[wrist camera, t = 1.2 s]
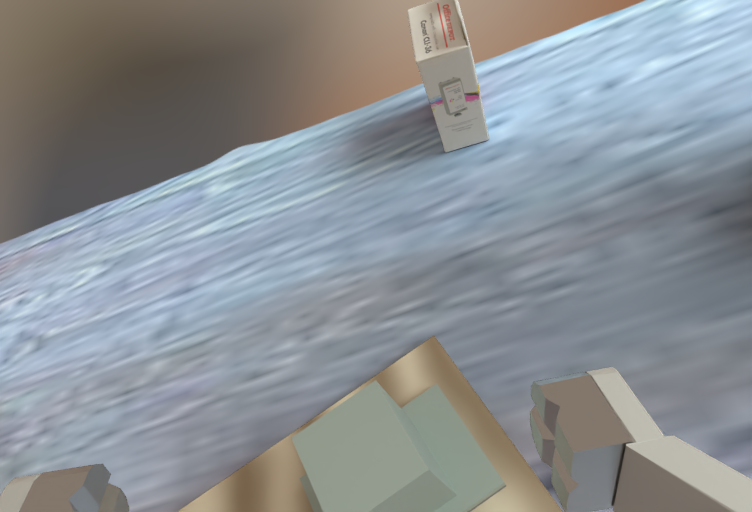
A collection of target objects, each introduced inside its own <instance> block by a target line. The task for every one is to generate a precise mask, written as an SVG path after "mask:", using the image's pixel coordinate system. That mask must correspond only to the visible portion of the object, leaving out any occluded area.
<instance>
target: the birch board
mask: <svg viewBox="0 0 752 512" xmlns="http://www.w3.org/2000/svg"><path fill="white" fill-rule="evenodd" d="M375 380H376V381H377V382H378V383H379V384H380V386H381V387H382V388H383V389H384V390H385V391H386V392H387V393H388V394H389V396H390V397H391V398H392V399H393V400H394V401H395V402H396V403H397V405H398V406H399V407H400V408H402V407H404V406H405V405H407V404H408V403H409V402H411V401H412V400H414V399H415V398H417V397H418V396H420V395H421V394H423V393H424V392H425V391H427V390H428V389H430V388H431V387H433V386H434V385H436V384H437V385H438V386H439V388H440V389H441V390H442V392H443V393H444V395H445V396H446V398H447V399H448V401H449V402H450V404H451V405H452V407H453V408H454V410H455V411H456V412H457V414H458V415H459V417H460V418H461V420H462V421H463V423H464V424H465V426H466V427H467V429H468V430H469V432H470V433H471V434H472V436H473V437H474V439H475V440H476V442H477V443H478V445H479V446H480V448H481V449H482V451H483V452H484V454H485V455H486V456H487V458H488V459H489V461H490V462H491V464H492V465H493V467H494V468H495V470H496V471H497V473H498V474H499V476H500V477H501V478H502V480H503V481H504V483H505V485H506V487H505V488H503V489H502V490H500V491H499V492H498V493H496V494H495V495H493V496H492V497H490V498H489V499H488V500H486V501H485V502H483V503H482V504H481V505H479V506H478V507H476V508H475V509H474V510H472V511H471V512H562V510H561V509H560V507H559V506H558V505H557V503H556V502H555V501H554V499H553V498H552V496H551V495H550V494H549V492H548V491H547V490H546V488H545V487H544V486H543V484H542V483H541V481H540V480H539V479H538V477H537V476H536V475H535V473H534V472H533V470H532V469H531V468H530V466H529V465H528V464H527V462H526V461H525V459H524V458H523V457H522V455H521V454H520V453H519V451H518V450H517V449H516V447H515V446H514V444H513V443H512V442H511V440H510V439H509V438H508V436H507V435H506V433H505V432H504V431H503V429H502V428H501V427H500V425H499V424H498V422H497V421H496V420H495V418H494V417H493V416H492V414H491V413H490V412H489V410H488V409H487V407H486V406H485V405H484V403H483V402H482V401H481V399H480V398H479V396H478V395H477V394H476V392H475V391H474V390H473V388H472V387H471V386H470V384H469V383H468V381H467V380H466V379H465V377H464V376H463V375H462V373H461V372H460V370H459V369H458V368H457V366H456V365H455V364H454V362H453V361H452V359H451V358H450V357H449V355H448V354H447V353H446V351H445V350H444V349H443V347H442V346H441V344H440V343H439V342H438V340H437V339H436V338H435V336H432V337H431V338H430V339H428V340H427V341H425V342H424V343H422V344H421V345H419V346H418V347H416V348H415V349H414V350H412V351H411V352H409V353H408V354H406V355H405V356H403V357H402V358H400V359H399V360H398V361H396V362H395V363H393V364H392V365H390V366H389V367H387V368H386V369H384V370H383V371H382V372H380V373H379V374H377V375H376V376H374V377H373V378H371V379H370V380H368V381H367V382H365V383H364V384H363V385H361V386H360V387H358V388H357V389H355V390H354V391H352V392H351V393H349V394H348V395H347V396H345V397H344V398H342V399H341V400H339V401H338V402H336V403H335V404H333V405H332V406H331V407H329V408H328V409H326V410H325V411H323V412H322V413H320V414H319V415H317V416H316V417H315V418H313V419H312V420H310V421H309V422H307V423H306V424H304V425H303V426H301V427H300V428H299V429H297V430H296V431H294V432H293V433H291V434H290V435H288V436H287V437H285V438H284V439H282V440H281V441H280V442H278V443H277V444H275V445H274V446H272V447H271V448H269V449H268V450H266V451H265V452H264V453H262V454H261V455H259V456H258V457H256V458H255V459H253V460H252V461H250V462H249V463H248V464H246V465H245V466H243V467H242V468H240V469H239V470H237V471H236V472H234V473H233V474H232V475H230V476H229V477H227V478H226V479H224V480H223V481H221V482H220V483H218V484H217V485H216V486H214V487H213V488H211V489H210V490H208V491H207V492H205V493H204V494H202V495H201V496H199V497H198V498H197V499H195V500H194V501H192V502H191V503H189V504H188V505H186V506H185V507H183V508H182V509H181V510H179V511H178V512H314V511H313V509H312V507H311V504H310V502H309V500H308V497H307V495H306V492H305V490H304V488H303V485H302V483H301V480H300V478H301V477H302V476H304V475H305V474H307V473H306V471H305V468H304V466H303V464H302V461H301V459H300V457H299V455H298V452H297V450H296V448H295V445H294V443H293V441H292V437H293V436H295V435H296V434H298V433H299V432H301V431H302V430H304V429H305V428H306V427H308V426H309V425H311V424H312V423H314V422H315V421H317V420H318V419H320V418H321V417H322V416H324V415H325V414H327V413H328V412H330V411H331V410H333V409H334V408H336V407H337V406H339V405H340V404H341V403H343V402H344V401H346V400H347V399H349V398H350V397H352V396H353V395H355V394H356V393H358V392H359V391H360V390H362V389H363V388H365V387H366V386H368V385H369V384H371V383H372V382H374V381H375Z"/></svg>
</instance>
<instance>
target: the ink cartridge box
mask: <svg viewBox="0 0 752 512" xmlns="http://www.w3.org/2000/svg"><path fill="white" fill-rule="evenodd" d="M408 19H409V26H410V33H411V39H412V45H413V51H414V56H415V60H416V64H417V66H418V68H419V71H420V74H421V77H422V80H423V84H424V87H425V90H426V93H427V96H428V99H429V102H430V105H431V108H432V111H433V115H434V118H435V121H436V124H437V127H438V131H439V134H440V137H441V140H442V143H443V147H444V150H445V152H450V151H453V150H456V149H460V148H463V147H466V146H469V145H473V144H476V143H480V142H483V141H487V140H488V139H489V134H488V129H487V124H486V120H485V115H484V110H483V105H482V100H481V95H480V90H479V85H478V80H477V75H476V70H475V65H474V61H473V56H472V52H471V47H470V43H469V39H468V35H467V31H466V28H465V24H464V20H463V17H462V13H461V9H460V5H459V3H458V0H434V1H431V2H428V3H425V4H422V5H419V6H416V7H414V8H411V9H409V10H408Z"/></svg>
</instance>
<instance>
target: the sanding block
mask: <svg viewBox="0 0 752 512" xmlns="http://www.w3.org/2000/svg"><path fill="white" fill-rule="evenodd" d="M292 441H293V443H294V445H295V448H296V450H297V452H298V455H299V457H300V459H301V461H302V464H303V466H304V468H305V471H306V473H307V474H305V475H304V476H302V477H301V478H300V480H301V483H302V485H303V488H304V490H305V492H306V495H307V497H308V500H309V502H310V504H311V507H312V509H313V511H314V512H471V511H472V510H474V509H475V508H476V507H478V506H479V505H481V504H482V503H483V502H485V501H486V500H488V499H489V498H490V497H492V496H493V495H495V494H496V493H498V492H499V491H500V490H502V489H503V488H505V487H506V485H505V483H504V481H503V480H502V478H501V477H500V476H499V474H498V473H497V471H496V470H495V468H494V467H493V465H492V464H491V462H490V461H489V459H488V458H487V456H486V455H485V454H484V452H483V451H482V449H481V448H480V446H479V445H478V443H477V442H476V440H475V439H474V437H473V436H472V434H471V433H470V432H469V430H468V429H467V427H466V426H465V424H464V423H463V421H462V420H461V418H460V417H459V415H458V414H457V412H456V411H455V410H454V408H453V407H452V405H451V404H450V402H449V401H448V399H447V398H446V396H445V395H444V393H443V392H442V390H441V389H440V388H439V386H438V385H437V384H436V385H434V386H433V387H431V388H430V389H428V390H427V391H425V392H424V393H423V394H421V395H420V396H418V397H417V398H415V399H414V400H412V401H411V402H409V403H408V404H407V405H405V406H404V407H402V408H400V407H399V406H398V405H397V403H396V402H395V401H394V400H393V399H392V398H391V397H390V396H389V394H388V393H387V392H386V391H385V390H384V389H383V388H382V387H381V386H380V384H379V383H378V382H377V381H376V380H375V381H374V382H372V383H371V384H369V385H368V386H366V387H365V388H363V389H362V390H360V391H359V392H358V393H356V394H355V395H353V396H352V397H350V398H349V399H347V400H346V401H344V402H343V403H341V404H340V405H339V406H337V407H336V408H334V409H333V410H331V411H330V412H328V413H327V414H325V415H324V416H322V417H321V418H320V419H318V420H317V421H315V422H314V423H312V424H311V425H309V426H308V427H306V428H305V429H304V430H302V431H301V432H299V433H298V434H296V435H295V436H293V437H292Z"/></svg>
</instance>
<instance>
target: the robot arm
mask: <svg viewBox="0 0 752 512" xmlns="http://www.w3.org/2000/svg"><path fill="white" fill-rule="evenodd" d="M531 397H532V399H533V401H534V403H535V407H534V408H533V409H532V410H531V411H530V425H531V430H532V435H533V439H534V442H535V445H536V448H537V451H538V453H539V455H540V458H541V460H542V461H543V462H544V463H546V464H547V465H549V466H550V467H551V468H552V479H551V483H552V485H553V487H554V489H555V491H556V494H557V496H558V498H559V500H560V502H561V505H562V507H563V509H564V511H565V512H591V511H597V510H603V509H609V508H613V511H614V512H752V479H750V478H748V477H746V476H744V475H743V474H741V473H739V472H737V471H736V470H734V469H732V468H730V467H728V466H727V465H725V464H723V463H721V462H720V461H718V460H716V459H714V458H712V457H711V456H709V455H707V454H705V453H704V452H702V451H700V450H698V449H697V448H695V447H693V446H691V445H689V444H688V443H686V442H684V441H682V440H681V439H679V438H677V437H675V436H673V435H672V436H664V435H663V433H662V432H661V430H660V429H659V428H658V426H657V425H656V424H655V422H654V421H653V419H652V418H651V417H650V415H649V414H648V412H647V411H646V410H645V408H644V407H643V405H642V404H641V403H640V401H639V400H638V398H637V397H636V396H635V394H634V393H633V391H632V390H631V389H630V387H629V386H628V385H627V383H626V382H625V380H624V379H623V378H622V376H621V375H620V373H619V372H618V371H617V370H616V369H614V368H613V367H608V368H603V369H598V370H592V371H587V372H579V373H574V374H569V375H564V376H560V377H555V378H550V379H545V380H540V381H535V382H533V384H532V386H531ZM110 475H111V474H110V472H109V471H108V470H107V469H106V467H105V466H104V465H103V464H95V465H89V466H83V467H76V468H70V469H64V470H58V471H51V472H45V473H40V474H34V475H28V476H23V477H17V478H14V479H13V480H12V481H11V482H10V483H9V484H8V485H6V487H5V489H4V490H3V492H2V494H1V496H0V512H129V506H128V502H127V499H126V496H125V494H124V493H123V491H122V490H121V488H118V487H116V486H114V485H111V484H109V483H108V481H109V478H110Z"/></svg>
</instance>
